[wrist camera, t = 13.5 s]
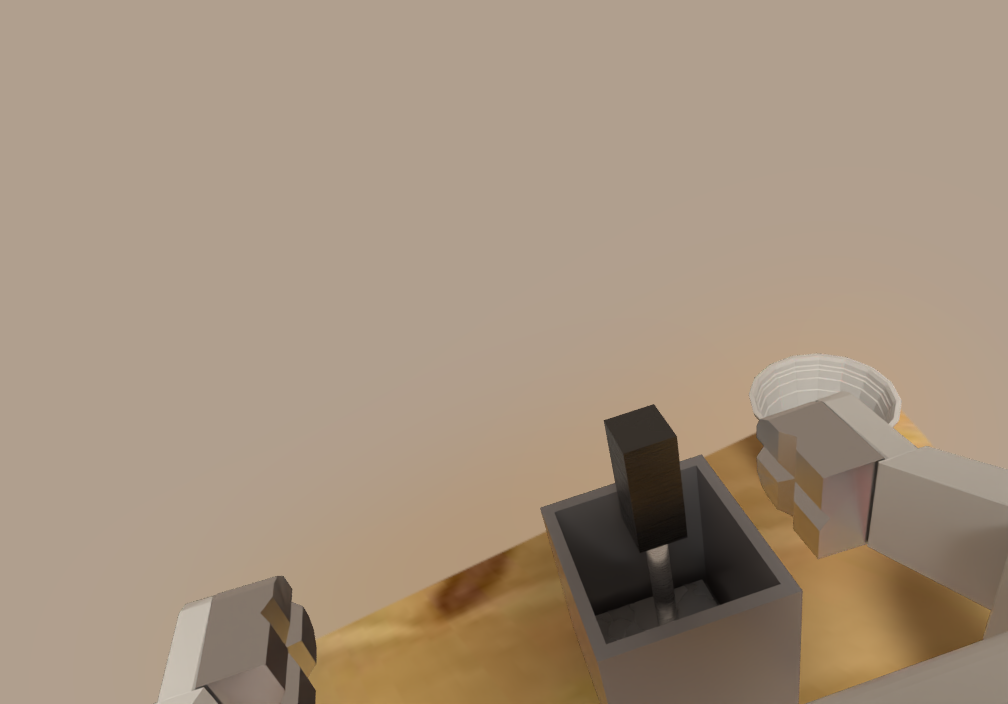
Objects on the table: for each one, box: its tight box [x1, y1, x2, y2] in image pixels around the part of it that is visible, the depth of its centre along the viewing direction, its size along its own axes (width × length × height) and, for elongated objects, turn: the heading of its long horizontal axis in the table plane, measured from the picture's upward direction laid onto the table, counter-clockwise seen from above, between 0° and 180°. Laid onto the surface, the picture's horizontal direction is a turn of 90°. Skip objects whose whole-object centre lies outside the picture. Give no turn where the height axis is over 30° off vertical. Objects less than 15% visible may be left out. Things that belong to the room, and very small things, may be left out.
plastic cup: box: [749, 354, 902, 427], centre depth 55 cm, size 11×11×12 cm
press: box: [540, 455, 803, 704], centre depth 45 cm, size 12×12×14 cm
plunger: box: [595, 404, 718, 644], centre depth 42 cm, size 9×9×22 cm
